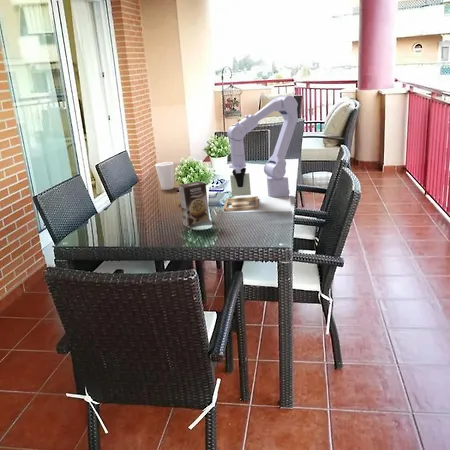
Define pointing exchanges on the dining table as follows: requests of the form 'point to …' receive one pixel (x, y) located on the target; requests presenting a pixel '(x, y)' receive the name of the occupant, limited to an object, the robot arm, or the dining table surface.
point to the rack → (241, 199)
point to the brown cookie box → (194, 203)
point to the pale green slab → (240, 190)
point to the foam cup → (166, 175)
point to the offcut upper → (240, 204)
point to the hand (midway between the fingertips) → (240, 186)
